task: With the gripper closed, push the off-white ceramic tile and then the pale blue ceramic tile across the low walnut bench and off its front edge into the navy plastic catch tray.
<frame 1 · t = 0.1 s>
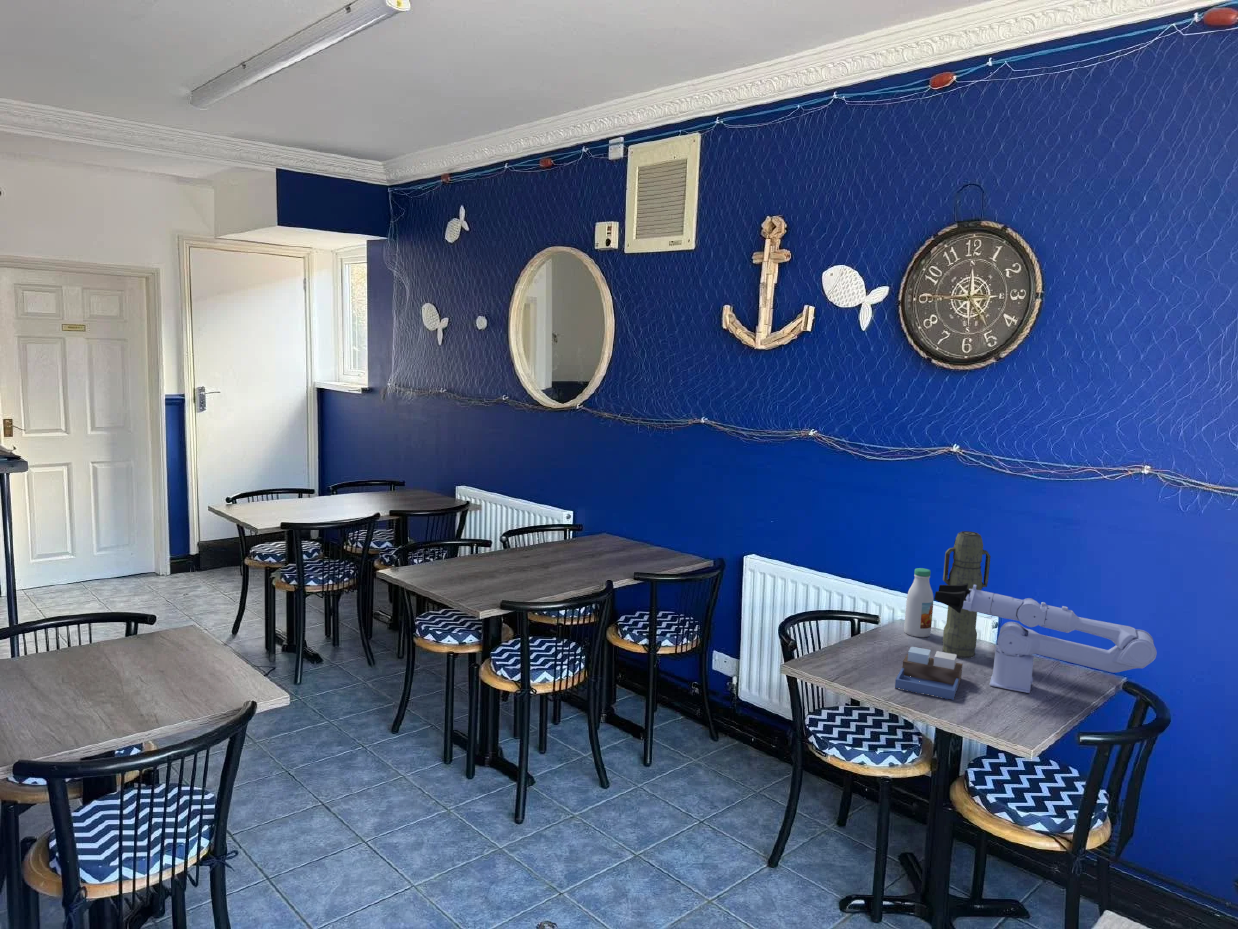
hand: (937, 592, 236), 22 cm above the table, tool horizontal, fingers open, 7 cm apart
thermos: (957, 654, 253), on the table
milk bottle: (917, 634, 270), on the table
blue tile: (918, 660, 234), point 4 cm above the table, touching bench
cream tile: (944, 664, 232), point 4 cm above the table, touching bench
catch tray: (926, 688, 226), on the table
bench: (931, 677, 233), on the table
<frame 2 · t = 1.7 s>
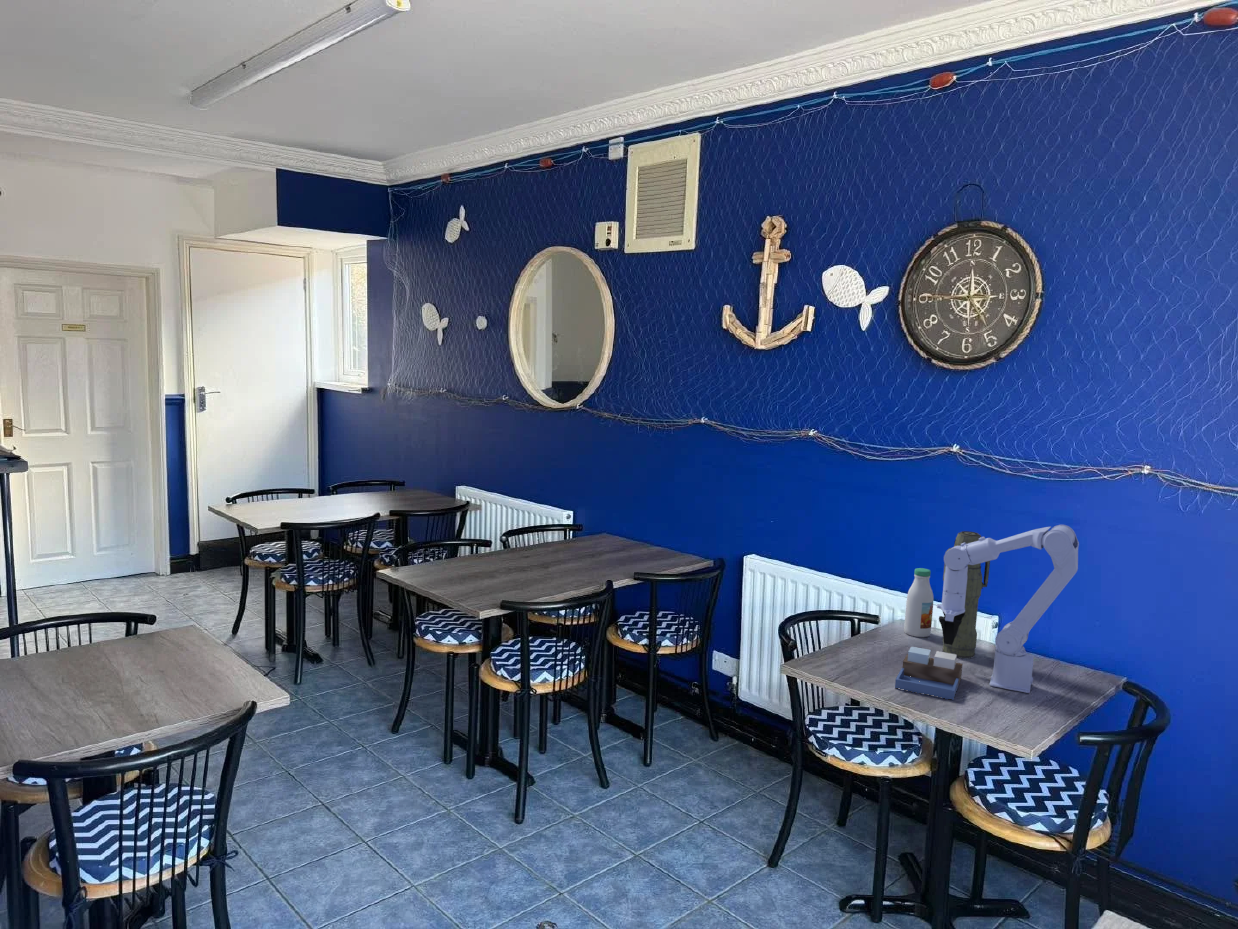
hand: (949, 640, 238), 8 cm above the table, tool pointing down, fingers open, 6 cm apart
nothing on the table moved.
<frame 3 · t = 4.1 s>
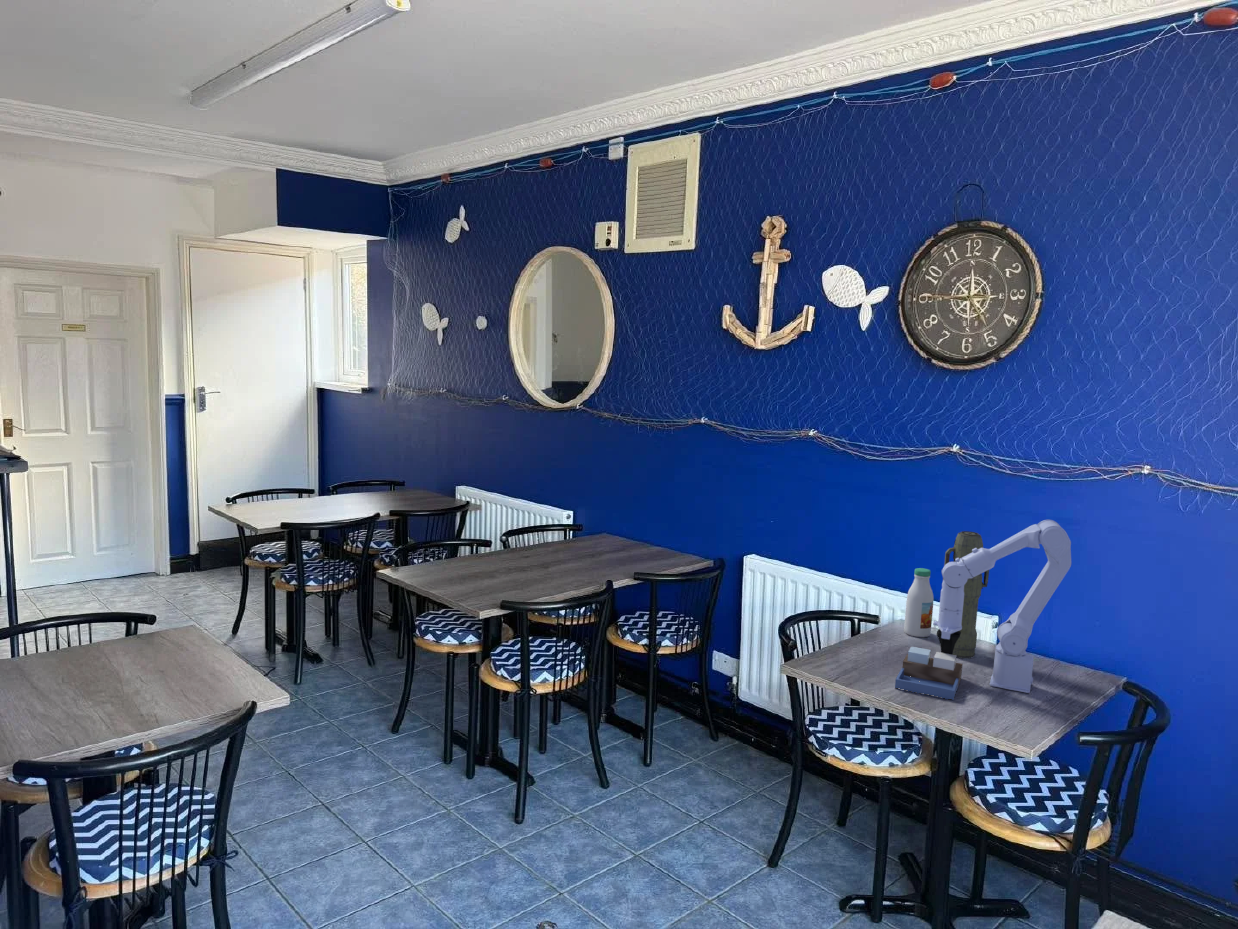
hand: (946, 658, 234), 5 cm above the table, tool pointing down, fingers closed
cream tile: (944, 665, 231), point 4 cm above the table, touching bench, gripper
everything else where it was.
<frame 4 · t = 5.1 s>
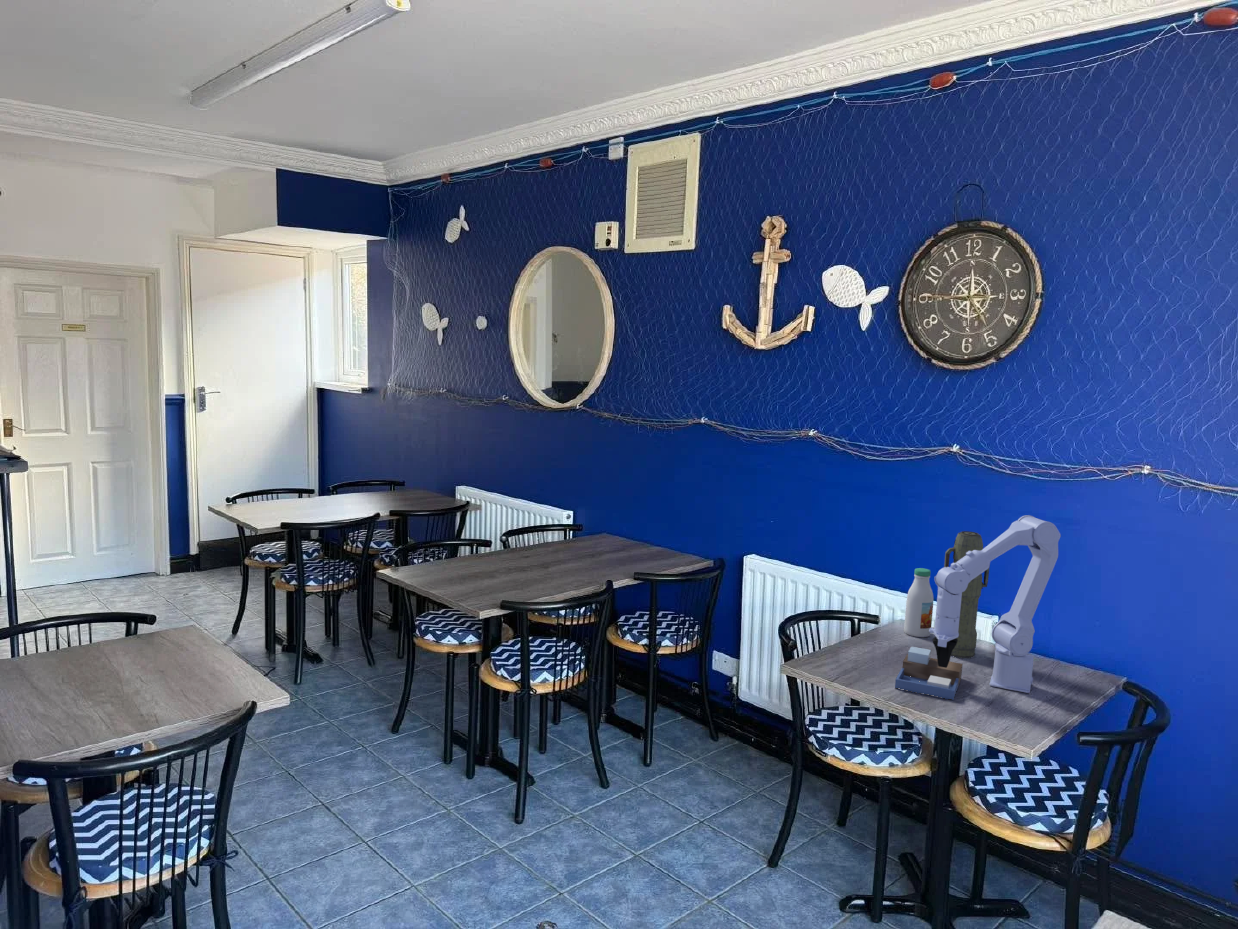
hand: (942, 666, 228), 5 cm above the table, tool pointing down, fingers closed
cream tile: (939, 680, 223), point 3 cm above the table, tilted 180°, touching catch tray
everything else where it was.
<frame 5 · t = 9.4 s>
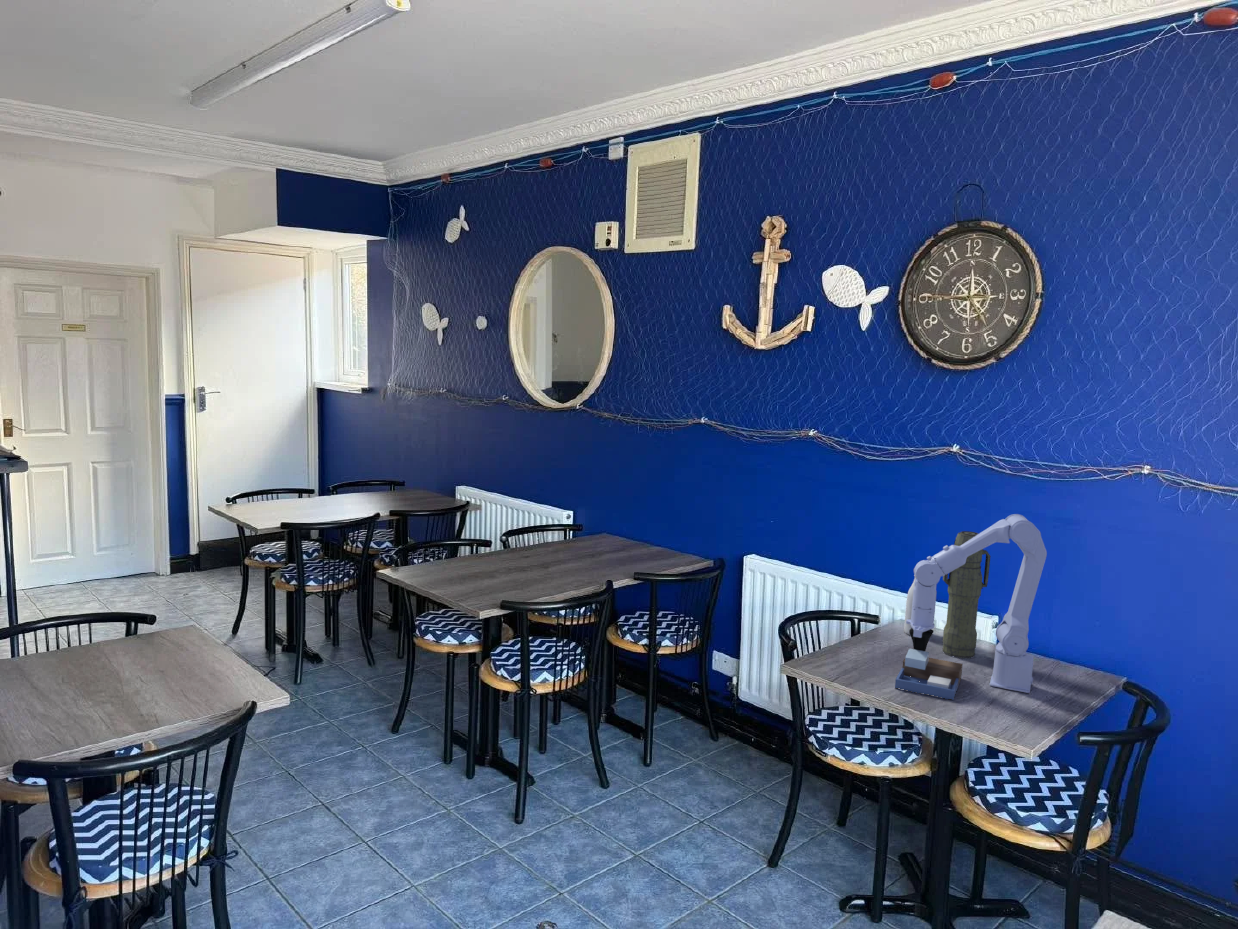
hand: (919, 656, 234), 5 cm above the table, tool pointing down, fingers closed
blue tile: (916, 663, 232), point 4 cm above the table, tilted 11°, touching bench
everything else where it was.
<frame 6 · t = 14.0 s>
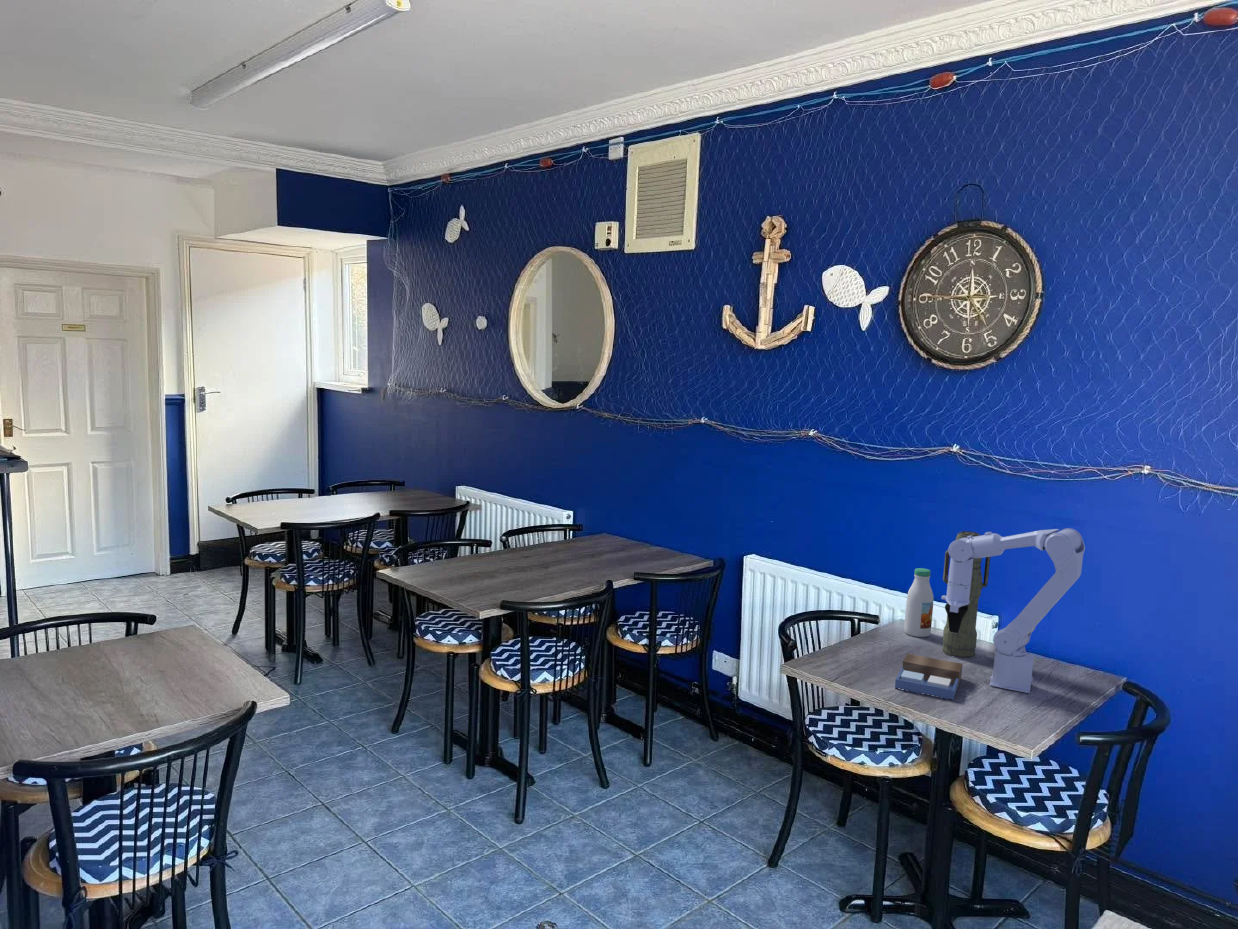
hand: (953, 631, 239), 10 cm above the table, tool pointing down, fingers closed
blue tile: (912, 675, 226), point 3 cm above the table, tilted 180°, touching catch tray
everything else where it was.
at the end: cream tile inside the target area on the catch tray (3.1 cm from its centre), point 2.9 cm above the catch tray's base; blue tile inside the target area on the catch tray (3.8 cm from its centre), point 2.9 cm above the catch tray's base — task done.
